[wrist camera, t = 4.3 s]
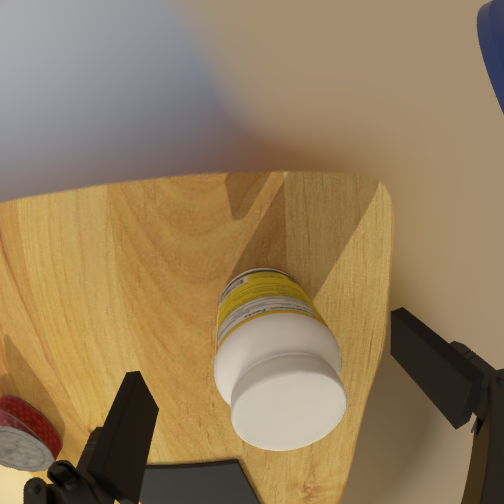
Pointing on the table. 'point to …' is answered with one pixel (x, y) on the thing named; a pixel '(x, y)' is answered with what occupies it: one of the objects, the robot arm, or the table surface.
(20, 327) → the table surface
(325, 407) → the pill bottle
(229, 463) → the mat
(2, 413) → the canned food
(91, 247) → the table surface
